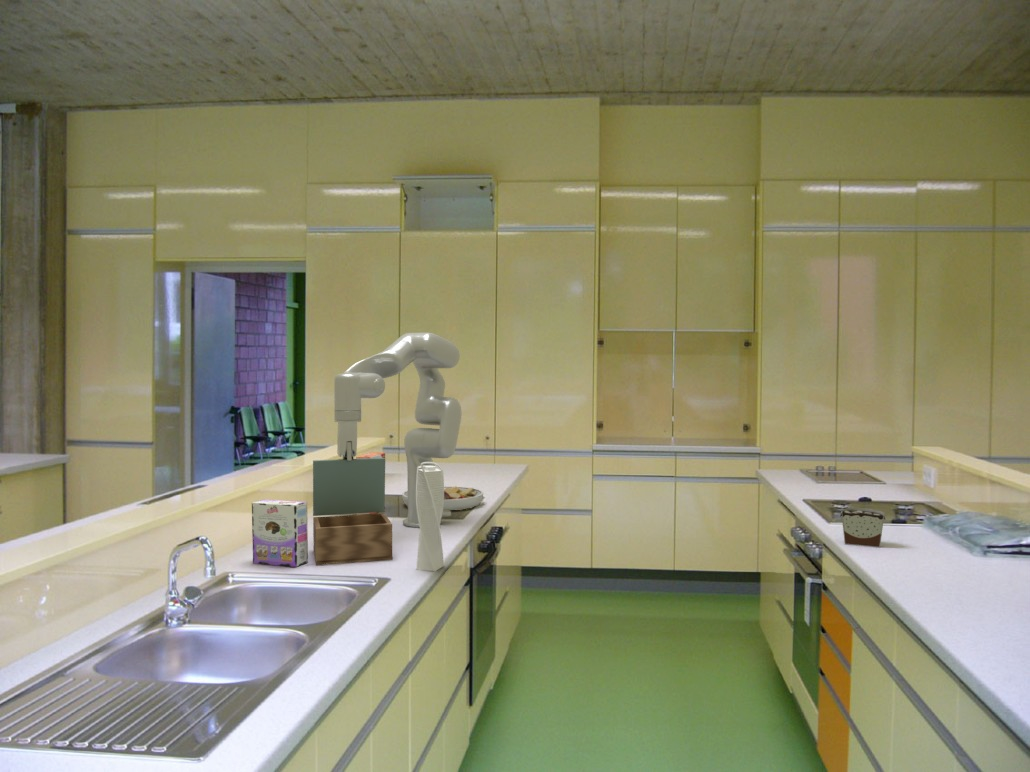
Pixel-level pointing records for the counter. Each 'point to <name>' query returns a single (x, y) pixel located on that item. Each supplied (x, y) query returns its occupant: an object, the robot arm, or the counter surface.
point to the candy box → (280, 532)
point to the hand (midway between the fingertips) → (348, 480)
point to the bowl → (457, 497)
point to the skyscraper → (429, 516)
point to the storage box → (352, 538)
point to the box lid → (348, 486)
